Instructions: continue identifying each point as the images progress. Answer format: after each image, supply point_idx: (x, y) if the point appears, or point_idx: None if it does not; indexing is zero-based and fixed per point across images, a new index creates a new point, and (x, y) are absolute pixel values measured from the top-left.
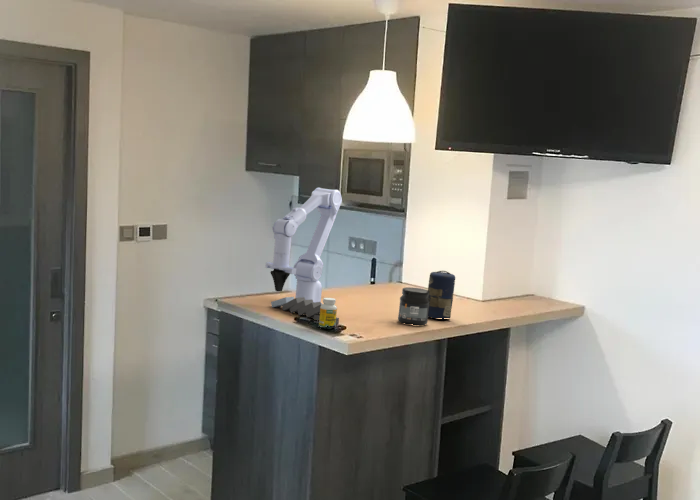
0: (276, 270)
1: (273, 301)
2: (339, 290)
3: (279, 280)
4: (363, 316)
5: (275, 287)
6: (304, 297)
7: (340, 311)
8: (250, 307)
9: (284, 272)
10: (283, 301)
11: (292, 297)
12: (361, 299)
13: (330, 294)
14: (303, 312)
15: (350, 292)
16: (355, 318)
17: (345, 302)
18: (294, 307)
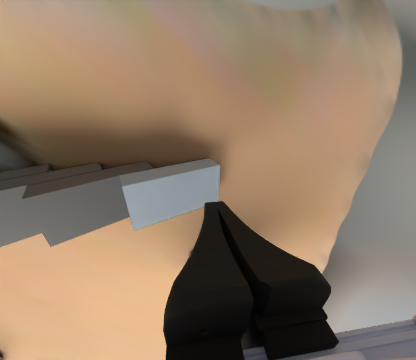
0: (285, 331)
1: (206, 167)
2: None
3: (195, 248)
4: (45, 312)
5: (223, 208)
6: (51, 245)
7: (111, 295)
8: (241, 64)
9: (167, 355)
10: (140, 175)
11: (131, 221)
12: None
13: None
14: (3, 172)
15: None
16: (13, 291)
17: None
18: (62, 173)
